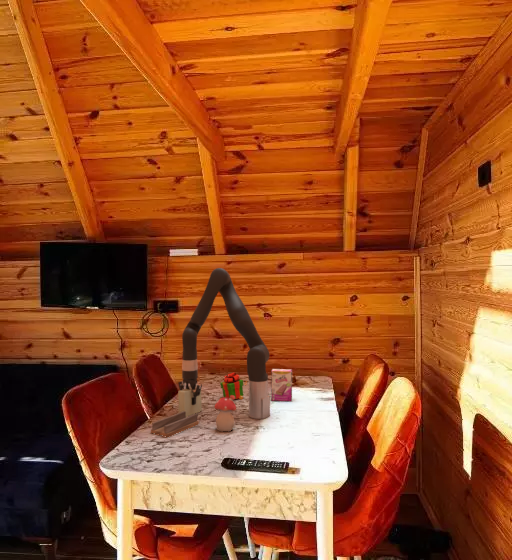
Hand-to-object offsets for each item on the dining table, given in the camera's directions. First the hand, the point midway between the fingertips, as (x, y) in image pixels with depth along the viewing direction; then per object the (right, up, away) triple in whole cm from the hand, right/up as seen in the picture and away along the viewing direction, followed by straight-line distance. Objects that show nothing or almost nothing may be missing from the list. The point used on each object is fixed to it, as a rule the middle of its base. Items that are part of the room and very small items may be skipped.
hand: (190, 403), depth 202 cm
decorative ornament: (+19, -5, -22) cm, 30 cm away
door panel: (0, -5, 0) cm, 5 cm away
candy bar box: (+46, -5, +22) cm, 51 cm away
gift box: (+20, -5, +25) cm, 33 cm away
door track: (-3, -5, -21) cm, 22 cm away
